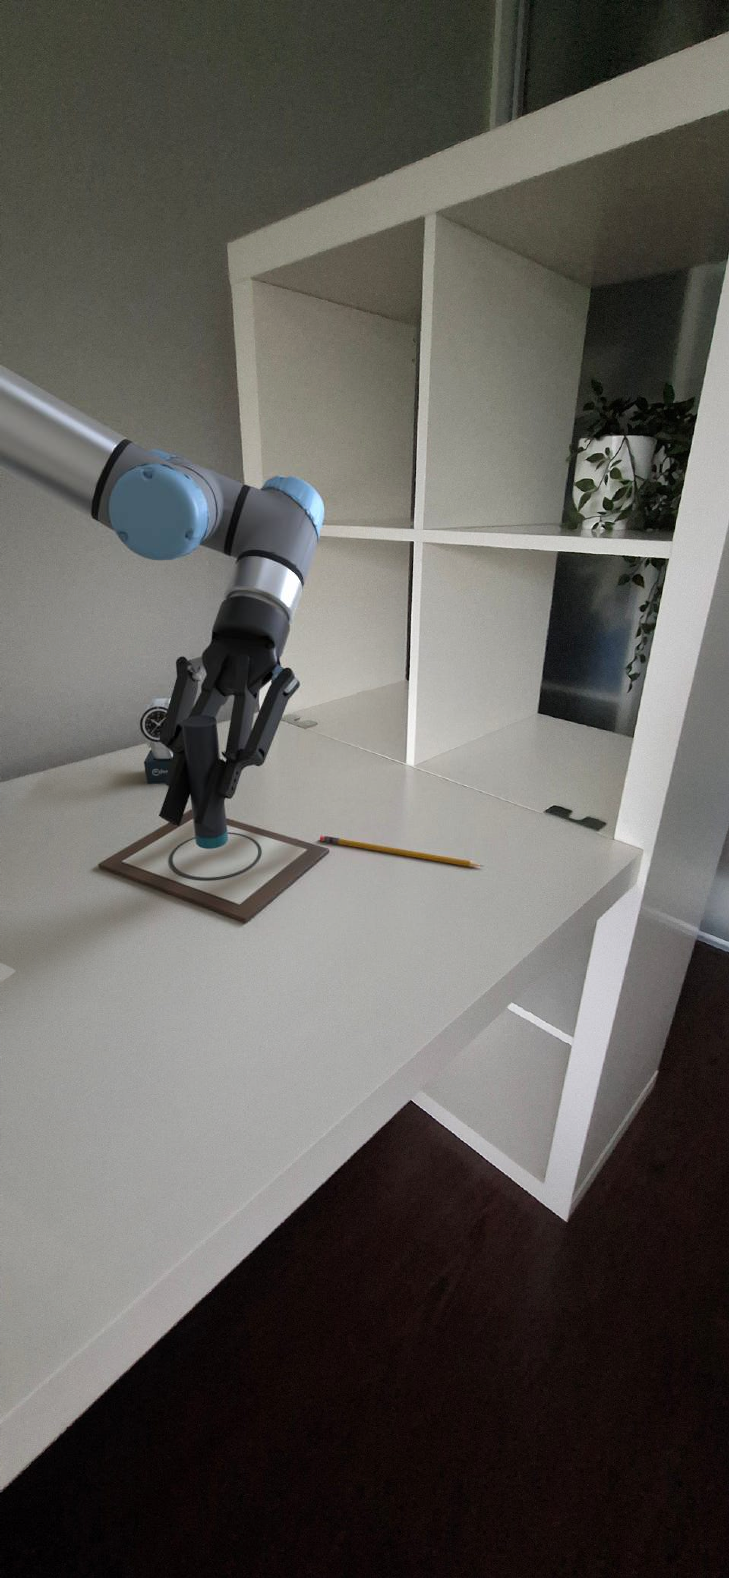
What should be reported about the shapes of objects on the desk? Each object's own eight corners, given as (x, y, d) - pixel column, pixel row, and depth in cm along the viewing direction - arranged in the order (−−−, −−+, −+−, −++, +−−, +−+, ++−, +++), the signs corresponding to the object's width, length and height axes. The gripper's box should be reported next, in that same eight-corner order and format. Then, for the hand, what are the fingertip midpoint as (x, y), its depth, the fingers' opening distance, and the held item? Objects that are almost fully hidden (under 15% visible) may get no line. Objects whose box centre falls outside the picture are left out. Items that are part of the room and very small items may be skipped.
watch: (144, 789, 92) (132, 711, 87) (155, 765, 99) (145, 691, 94) (186, 788, 92) (177, 710, 87) (195, 764, 99) (186, 690, 94)
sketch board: (98, 867, 74) (97, 862, 74) (193, 811, 86) (192, 806, 86) (246, 923, 65) (245, 917, 65) (329, 852, 77) (329, 846, 77)
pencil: (319, 842, 79) (319, 836, 79) (321, 839, 80) (321, 833, 80) (483, 871, 74) (483, 864, 74) (484, 867, 75) (484, 861, 74)
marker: (189, 843, 70) (173, 723, 64) (210, 830, 72) (197, 712, 66) (213, 852, 68) (200, 729, 62) (234, 837, 71) (223, 718, 65)
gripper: (338, 639, 73) (278, 849, 66) (205, 627, 78) (135, 822, 71) (317, 597, 66) (247, 826, 59) (172, 587, 71) (92, 798, 64)
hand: (186, 823), depth 65 cm, fingers closed on marker, 3 cm apart
